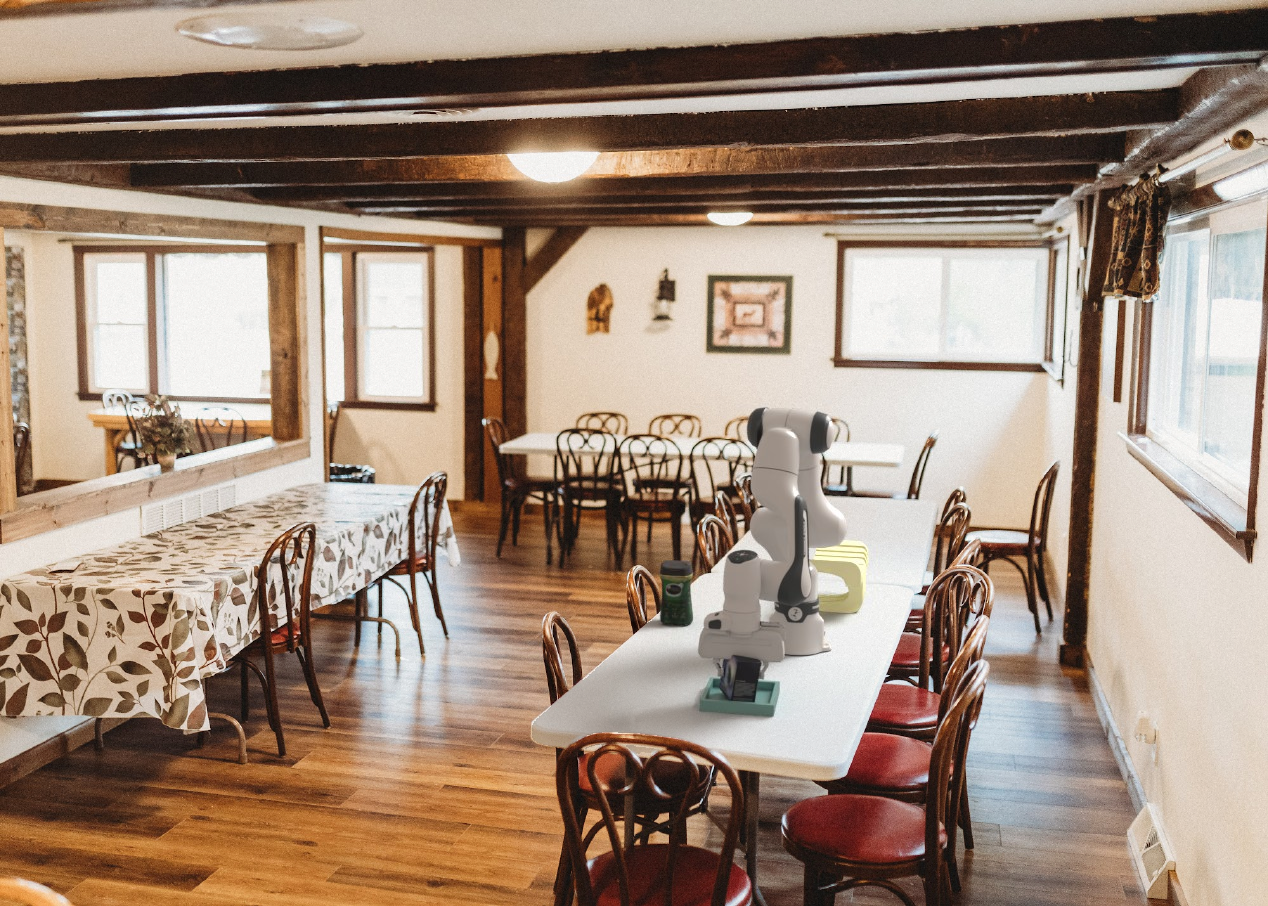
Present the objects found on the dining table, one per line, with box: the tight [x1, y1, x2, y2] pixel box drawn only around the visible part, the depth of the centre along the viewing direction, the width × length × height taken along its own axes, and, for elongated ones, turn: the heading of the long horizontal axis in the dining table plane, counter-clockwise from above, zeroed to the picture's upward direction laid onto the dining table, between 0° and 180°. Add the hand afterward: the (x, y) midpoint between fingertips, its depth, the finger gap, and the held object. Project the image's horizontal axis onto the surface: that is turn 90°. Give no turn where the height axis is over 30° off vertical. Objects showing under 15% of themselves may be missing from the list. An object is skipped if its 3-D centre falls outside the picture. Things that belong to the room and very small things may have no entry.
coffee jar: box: [659, 559, 694, 627], centre depth 341 cm, size 10×8×19 cm
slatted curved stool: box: [809, 539, 869, 614], centre depth 359 cm, size 30×16×18 cm, turn 165°
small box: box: [719, 655, 763, 703], centre depth 275 cm, size 11×6×10 cm, turn 12°
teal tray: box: [699, 676, 781, 717], centre depth 276 cm, size 17×17×3 cm
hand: (741, 677), depth 275 cm, fingers open, 8 cm apart
